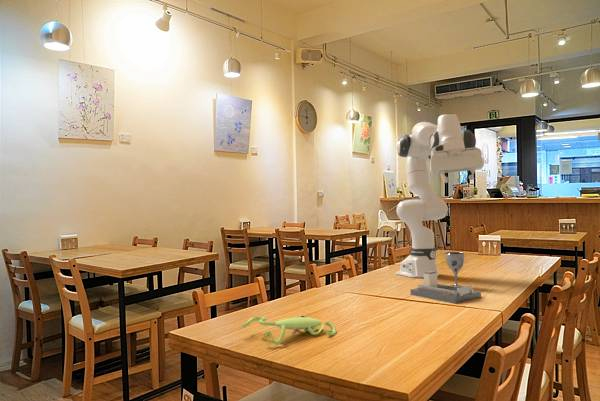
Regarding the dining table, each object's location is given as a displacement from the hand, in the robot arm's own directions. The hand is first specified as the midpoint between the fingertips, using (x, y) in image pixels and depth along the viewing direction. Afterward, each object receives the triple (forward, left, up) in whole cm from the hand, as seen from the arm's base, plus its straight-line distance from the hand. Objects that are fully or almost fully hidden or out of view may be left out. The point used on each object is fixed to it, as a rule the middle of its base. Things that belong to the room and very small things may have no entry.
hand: (459, 181), depth 174 cm
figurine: (-7, -77, -47) cm, 90 cm away
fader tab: (-16, 0, -44) cm, 47 cm away
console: (-9, 0, -46) cm, 47 cm away
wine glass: (-17, +18, -46) cm, 52 cm away
